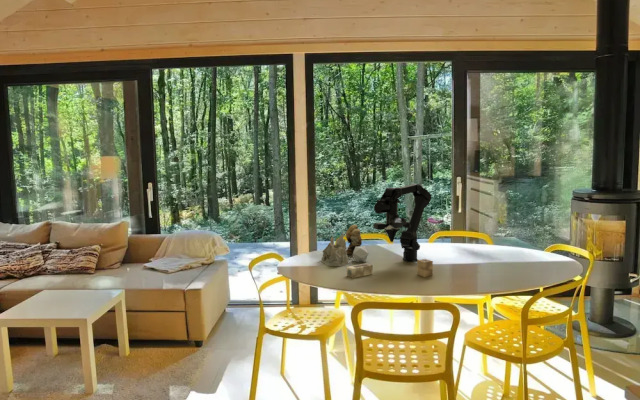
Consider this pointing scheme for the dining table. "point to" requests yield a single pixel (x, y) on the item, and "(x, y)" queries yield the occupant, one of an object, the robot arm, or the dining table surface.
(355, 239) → the brown lumpy rock
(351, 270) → the cream two-panel pillar
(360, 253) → the die
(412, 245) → the robot arm
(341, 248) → the jagged grey rock
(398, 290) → the dining table surface
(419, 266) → the oak block
